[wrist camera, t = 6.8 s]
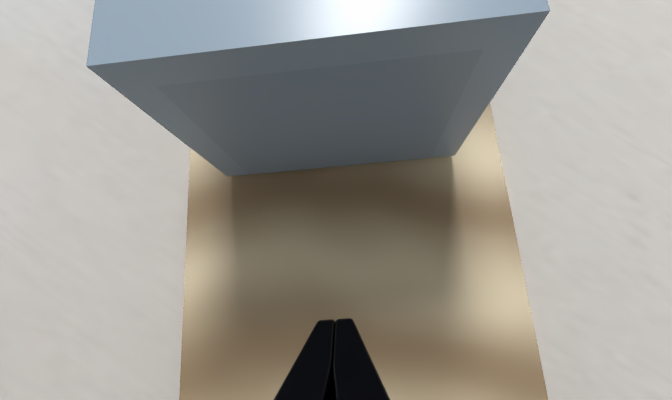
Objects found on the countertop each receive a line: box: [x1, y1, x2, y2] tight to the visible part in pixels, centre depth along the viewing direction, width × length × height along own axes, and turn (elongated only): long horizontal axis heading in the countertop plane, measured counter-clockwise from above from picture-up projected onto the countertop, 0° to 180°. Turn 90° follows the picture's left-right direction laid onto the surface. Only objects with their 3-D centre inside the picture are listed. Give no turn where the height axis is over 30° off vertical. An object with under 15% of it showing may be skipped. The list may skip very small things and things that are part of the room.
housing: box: [86, 0, 550, 177], centre depth 12 cm, size 9×10×8 cm
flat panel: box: [179, 103, 548, 400], centre depth 14 cm, size 22×14×5 cm, turn 4°
